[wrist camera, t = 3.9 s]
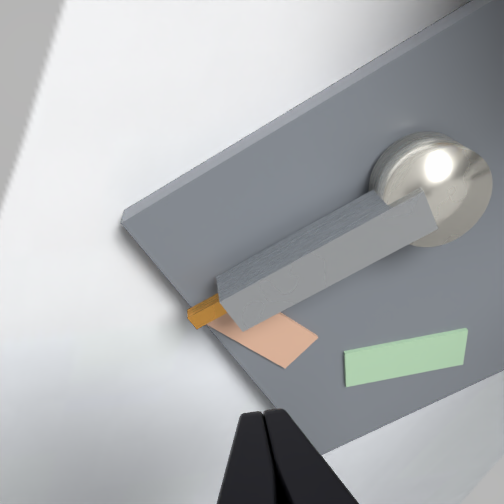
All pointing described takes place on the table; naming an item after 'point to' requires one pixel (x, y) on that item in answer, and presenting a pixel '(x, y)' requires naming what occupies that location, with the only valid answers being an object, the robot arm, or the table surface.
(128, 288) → the table surface
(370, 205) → the peg lever
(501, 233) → the tuner board
